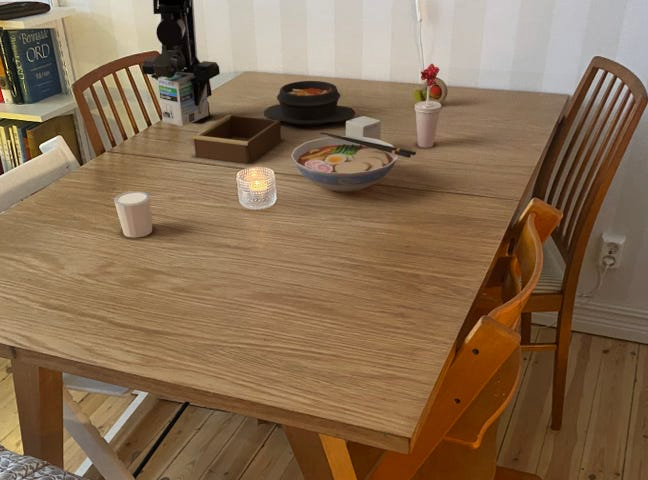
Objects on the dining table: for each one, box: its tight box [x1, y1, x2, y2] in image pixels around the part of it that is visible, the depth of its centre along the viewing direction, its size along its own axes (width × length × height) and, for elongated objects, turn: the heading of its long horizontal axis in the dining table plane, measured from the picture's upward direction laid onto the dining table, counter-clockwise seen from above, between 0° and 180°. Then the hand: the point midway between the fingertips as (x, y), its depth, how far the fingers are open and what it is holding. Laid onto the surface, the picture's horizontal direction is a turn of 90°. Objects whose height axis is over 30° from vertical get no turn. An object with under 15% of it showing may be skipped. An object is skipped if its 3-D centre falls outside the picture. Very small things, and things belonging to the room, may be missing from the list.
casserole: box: [262, 80, 356, 127], centre depth 196 cm, size 25×19×8 cm
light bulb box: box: [157, 68, 209, 128], centre depth 181 cm, size 11×7×11 cm, turn 148°
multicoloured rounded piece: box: [412, 63, 449, 105], centre depth 203 cm, size 6×11×9 cm
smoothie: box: [413, 85, 442, 149], centre depth 176 cm, size 6×6×14 cm
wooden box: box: [192, 114, 282, 165], centre depth 181 cm, size 15×18×5 cm
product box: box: [345, 115, 382, 140], centre depth 176 cm, size 6×6×7 cm
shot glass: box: [113, 191, 153, 239], centre depth 143 cm, size 7×7×7 cm
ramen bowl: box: [290, 131, 417, 193], centre depth 158 cm, size 25×23×8 cm
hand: (184, 104), depth 182 cm, fingers closed on light bulb box, 7 cm apart
